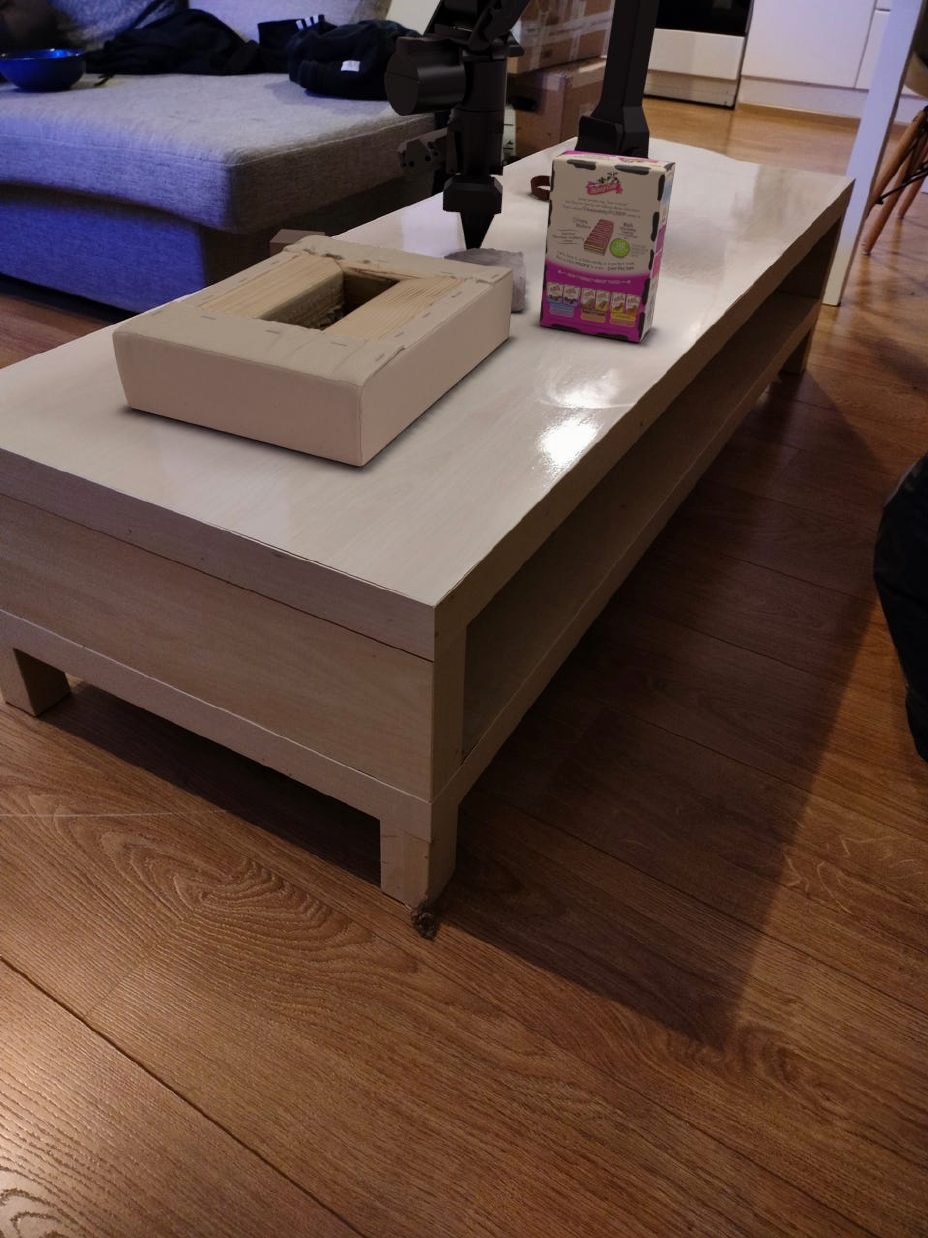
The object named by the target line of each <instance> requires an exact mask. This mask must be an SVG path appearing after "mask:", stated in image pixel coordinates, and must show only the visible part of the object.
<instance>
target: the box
mask: <svg viewBox="0 0 928 1238" xmlns="http://www.w3.org/2000/svg"><path fill="white" fill-rule="evenodd" d="M443 258H444V257H443ZM443 258H442V257H439V256H438V257H437V256H431V255H425V254H421V253H414V252H409V251H402V250H398V249H392V248H388V247H381V246H376V245H371V244H370V245H369V244H363V243H358V242H351V241H347V240H342V239H341V240H340V239H338V238H337V239H336V238H333V237H331V236H328V235H325V236H321V235H311V236H307V237H304V238H302V239H301V240H299V241H298V242H296V243H295V244H293V245H289V246H286V247H284V249H283V251H282V252H281V253H279V254H277V255H275V256H273V257H269V258H266V259H265V260H262V261H260V262H258V263H255V264H254V265H252V266H250V267H248V268H246V269H244V270H242V271H239V272H237V273H235V274H233V275H230V276H229V277H227V278H225V279H223V280H221V281H219V282H217V283H214V284H212V285H211V286H208V287H207V288H204V289H203V290H201V291H199V292H196V293H194V294H192V295H190V296H188V297H186V298H184V299H181V300H179V301H177V300H175V301H171V302H169V303H167V304H165V305H164V306H161V307H160V308H158V309H155V310H152V311H149V312H147V313H144V314H140V315H138V316H136V317H134V318H132V319H129V320H127V321H126V322H124V323H122V324H121V325H120V326H118V327H117V328H115V329H114V330H113V332H112V334H111V337H112V344H113V352H114V357H115V363H116V366H117V371H118V375H119V378H120V382H121V386H122V389H123V392H124V396H125V399H126V401H127V404H128V405H129V406H130V408H132V409H136V410H139V411H142V412H147V413H151V414H155V415H159V416H162V417H166V418H167V417H168V418H171V419H174V420H179V421H182V422H186V423H189V424H194V425H198V426H201V427H202V426H203V427H206V428H209V429H213V430H218V431H221V432H224V433H229V434H233V435H236V436H241V437H243V438H247V439H252V440H256V441H260V442H264V443H268V444H271V445H275V446H278V447H283V448H286V449H290V450H293V451H298V452H301V453H305V454H310V455H313V456H316V457H319V458H324V459H328V460H332V461H336V462H340V463H344V464H348V465H352V466H355V467H356V466H357V467H363V466H364V465H365V464H367V463H368V462H369V461H370V460H372V458H374V457H375V456H376V455H377V454H378V453H380V452H381V450H383V449H384V448H385V447H386V446H387V445H389V443H390V442H392V441H393V440H394V439H395V438H396V437H397V436H398V435H399V434H401V433H402V432H404V430H405V429H406V428H408V426H409V425H411V424H412V423H413V422H414V421H415V420H416V419H418V417H420V416H422V414H423V413H424V412H425V411H427V410H428V409H429V408H430V407H431V406H433V404H435V403H436V402H437V401H439V399H440V398H442V396H443V395H444V394H445V393H447V391H449V390H450V389H451V388H453V387H454V386H455V385H456V384H457V383H459V382H460V381H461V380H462V378H464V377H465V376H466V375H467V374H469V373H470V372H471V371H472V370H473V369H474V368H476V367H477V366H478V365H479V364H480V363H481V362H482V361H483V360H484V359H485V358H486V357H488V356H489V355H490V354H491V353H492V352H494V350H496V349H497V348H498V347H499V346H500V345H502V344H503V342H505V341H506V340H507V339H508V338H509V336H510V328H511V316H512V315H511V314H512V311H511V304H512V290H513V270H512V269H510V268H504V267H498V266H483V265H477V264H471V263H465V262H460V261H455V260H448V259H443Z"/></svg>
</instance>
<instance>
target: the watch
mask: <svg viewBox="0 0 928 1238" xmlns="http://www.w3.org/2000/svg"><path fill="white" fill-rule="evenodd" d="M529 183H530V192H531V195H532V196H534V197H535V198H537V199H539V200H542V201H544V202H546V201H548V202H549V199H550V189H545V188H543V187H548V188H550V185H551V174H550V175H547V174H545V175H544V174H542V175H541V174H540V175H539V174H538V175H535V176H533V177H532V178H531V179H530V181H529Z"/></svg>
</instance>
